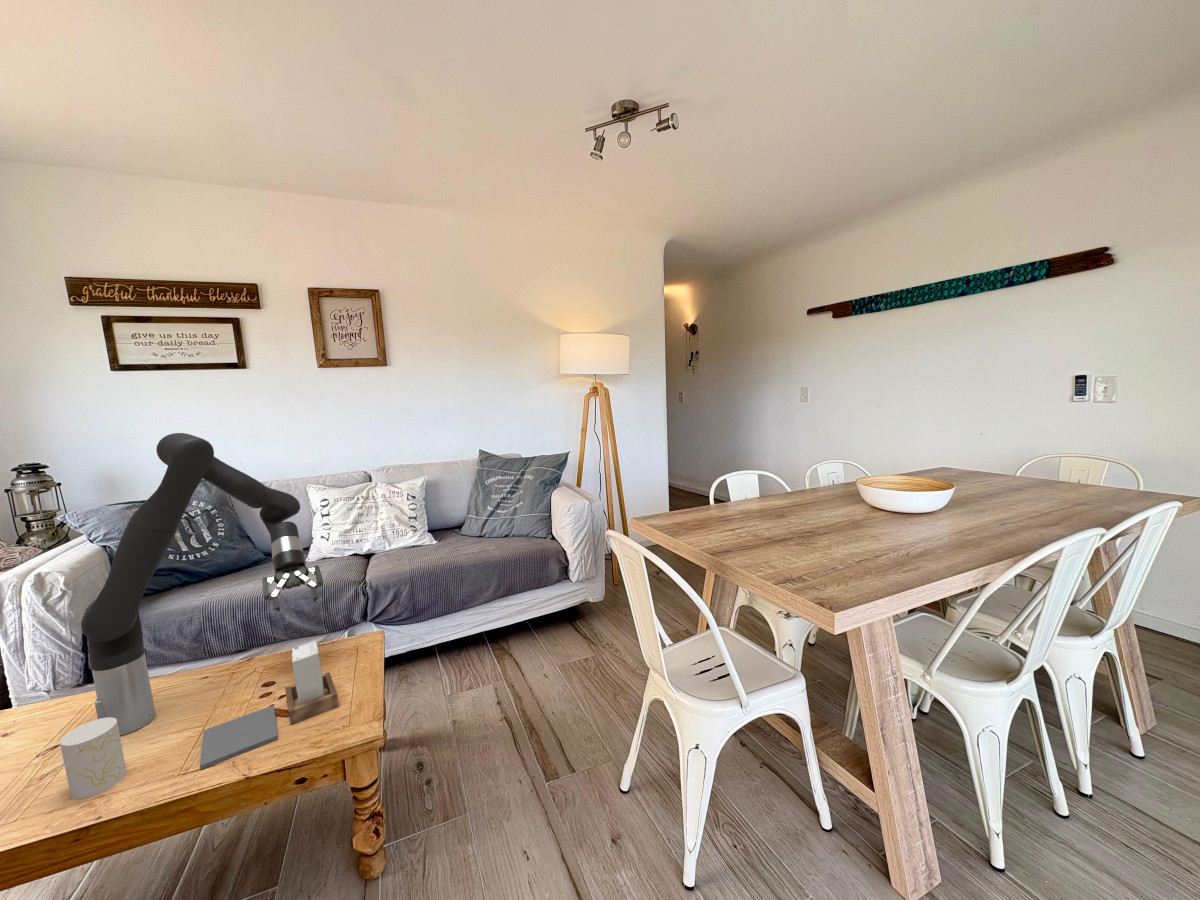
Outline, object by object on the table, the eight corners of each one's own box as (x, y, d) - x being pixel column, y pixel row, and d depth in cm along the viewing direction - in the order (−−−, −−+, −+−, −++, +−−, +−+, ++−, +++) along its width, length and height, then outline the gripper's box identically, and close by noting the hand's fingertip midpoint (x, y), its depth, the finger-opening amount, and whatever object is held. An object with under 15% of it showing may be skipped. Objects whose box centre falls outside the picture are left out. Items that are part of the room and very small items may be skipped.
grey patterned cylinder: (86, 802, 95) (76, 748, 93) (60, 794, 97) (49, 741, 95) (135, 770, 103) (126, 720, 101) (110, 764, 105) (101, 714, 103)
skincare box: (326, 707, 121) (319, 653, 119) (298, 716, 118) (291, 661, 116) (324, 690, 128) (318, 639, 126) (298, 699, 125) (291, 646, 123)
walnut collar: (290, 725, 115) (288, 711, 115) (286, 699, 125) (285, 687, 124) (338, 706, 121) (336, 694, 121) (331, 683, 131) (329, 672, 131)
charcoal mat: (200, 770, 102) (199, 765, 102) (204, 733, 113) (203, 730, 113) (277, 739, 110) (277, 735, 110) (274, 708, 121) (273, 704, 121)
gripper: (257, 555, 131) (264, 608, 124) (316, 543, 140) (326, 592, 132) (259, 568, 136) (266, 619, 129) (316, 555, 145) (326, 603, 137)
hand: (297, 605), depth 130 cm, fingers open, 8 cm apart
